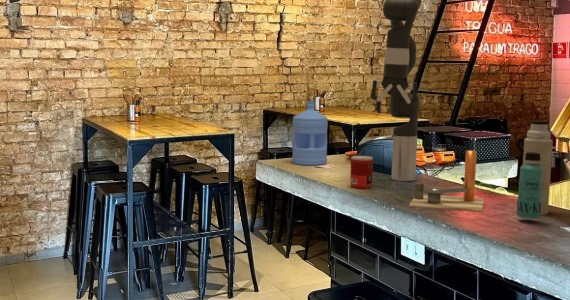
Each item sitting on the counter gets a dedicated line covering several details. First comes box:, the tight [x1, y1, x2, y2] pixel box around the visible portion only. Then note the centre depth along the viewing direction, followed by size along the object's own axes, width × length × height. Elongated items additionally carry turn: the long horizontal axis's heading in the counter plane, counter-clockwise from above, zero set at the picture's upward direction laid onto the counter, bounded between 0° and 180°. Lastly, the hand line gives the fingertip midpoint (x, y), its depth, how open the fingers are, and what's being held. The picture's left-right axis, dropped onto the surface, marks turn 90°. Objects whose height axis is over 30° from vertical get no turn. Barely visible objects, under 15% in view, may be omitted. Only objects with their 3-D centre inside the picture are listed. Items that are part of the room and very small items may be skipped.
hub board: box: [408, 182, 485, 213], centre depth 209 cm, size 18×22×6 cm
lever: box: [424, 149, 478, 201], centre depth 208 cm, size 17×6×16 cm, turn 101°
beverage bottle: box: [516, 152, 544, 220], centre depth 184 cm, size 6×7×20 cm
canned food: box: [349, 155, 374, 190], centre depth 235 cm, size 8×8×11 cm
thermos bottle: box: [522, 120, 553, 216], centre depth 196 cm, size 8×8×28 cm
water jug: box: [291, 100, 329, 167], centre depth 290 cm, size 16×16×28 cm
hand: (392, 114), depth 206 cm, fingers open, 8 cm apart
